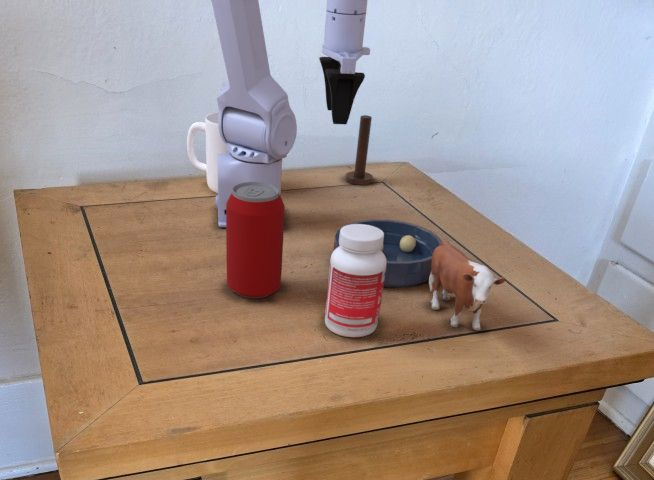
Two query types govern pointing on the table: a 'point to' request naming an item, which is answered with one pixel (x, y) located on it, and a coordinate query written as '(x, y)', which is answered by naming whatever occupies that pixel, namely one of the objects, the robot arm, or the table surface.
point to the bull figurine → (460, 282)
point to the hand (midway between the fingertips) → (336, 116)
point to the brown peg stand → (361, 155)
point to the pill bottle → (356, 281)
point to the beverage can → (254, 239)
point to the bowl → (401, 264)
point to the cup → (208, 148)
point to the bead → (407, 243)
